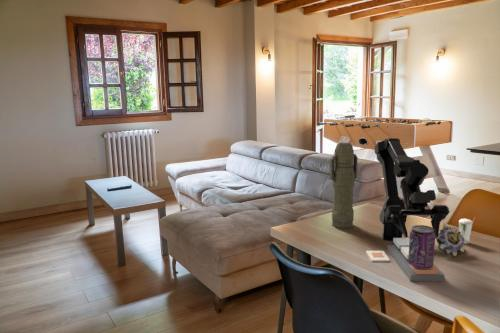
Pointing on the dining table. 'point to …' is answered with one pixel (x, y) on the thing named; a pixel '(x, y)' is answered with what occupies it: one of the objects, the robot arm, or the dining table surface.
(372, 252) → the card
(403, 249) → the off-white key
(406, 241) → the grey-blue key
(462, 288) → the dining table surface
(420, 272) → the terracotta key
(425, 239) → the beverage can
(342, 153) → the thermos
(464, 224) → the milkshake
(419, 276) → the keypad board
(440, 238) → the passion flower
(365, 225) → the dining table surface
